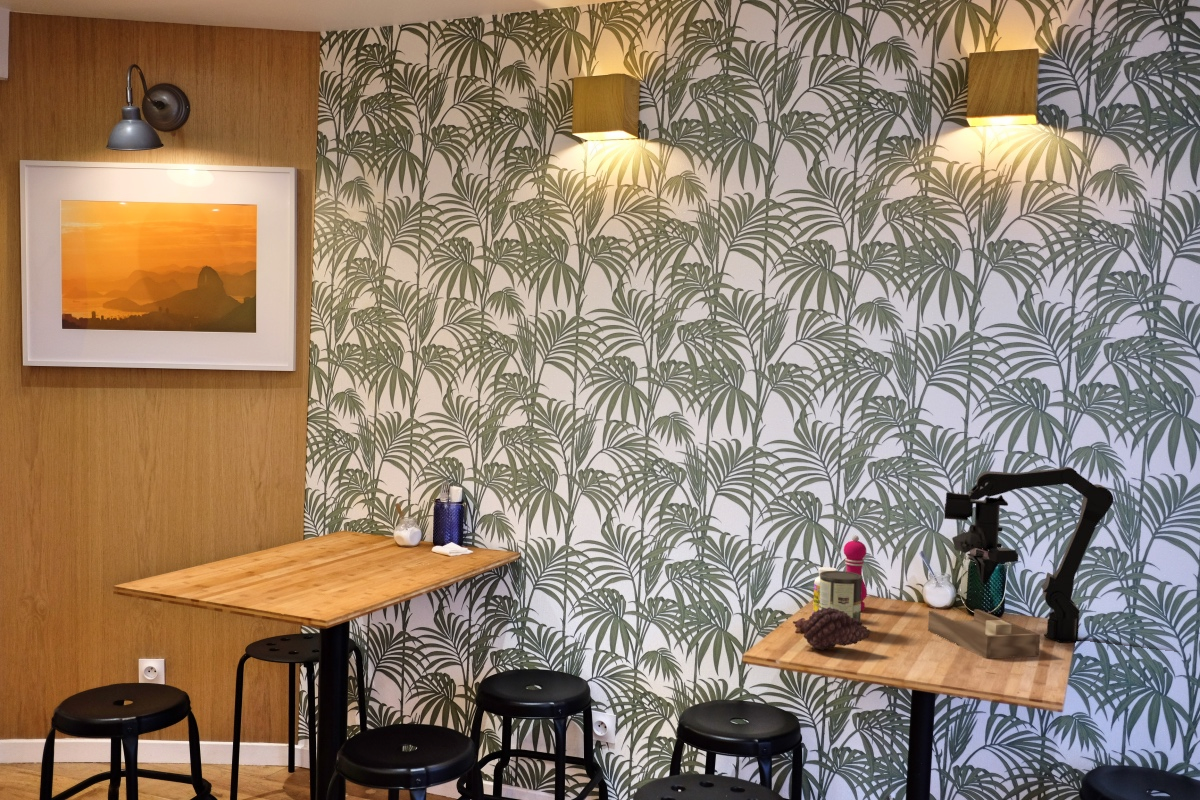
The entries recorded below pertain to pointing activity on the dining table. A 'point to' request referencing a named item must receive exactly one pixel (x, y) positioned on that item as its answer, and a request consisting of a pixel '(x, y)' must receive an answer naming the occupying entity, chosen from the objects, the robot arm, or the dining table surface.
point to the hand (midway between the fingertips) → (983, 583)
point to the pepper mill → (856, 562)
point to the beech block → (997, 627)
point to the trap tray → (985, 636)
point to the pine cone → (831, 629)
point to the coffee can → (841, 592)
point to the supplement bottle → (817, 588)
